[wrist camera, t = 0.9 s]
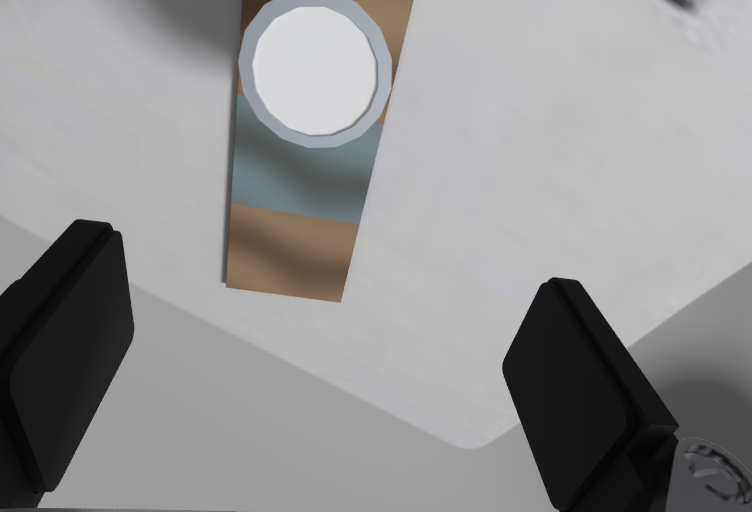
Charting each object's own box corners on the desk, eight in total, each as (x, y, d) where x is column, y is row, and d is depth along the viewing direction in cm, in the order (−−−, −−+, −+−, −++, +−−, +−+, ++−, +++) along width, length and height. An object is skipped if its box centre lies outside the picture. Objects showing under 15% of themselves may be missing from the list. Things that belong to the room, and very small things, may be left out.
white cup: (393, -10, 25) (408, 7, 19) (370, 114, 29) (377, 160, 23) (263, -39, 24) (239, -29, 18) (257, 95, 28) (235, 137, 22)
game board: (247, -54, 24) (245, -54, 23) (414, -10, 25) (415, -9, 25) (227, 284, 36) (226, 287, 36) (340, 299, 38) (340, 302, 37)
